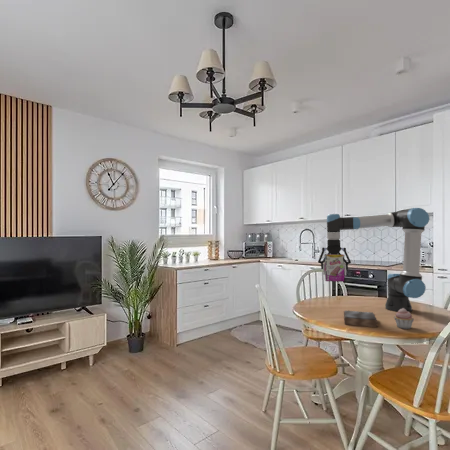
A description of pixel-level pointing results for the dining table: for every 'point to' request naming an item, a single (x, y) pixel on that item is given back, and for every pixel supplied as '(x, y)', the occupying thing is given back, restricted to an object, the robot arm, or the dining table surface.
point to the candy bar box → (334, 267)
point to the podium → (360, 318)
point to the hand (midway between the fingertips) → (334, 274)
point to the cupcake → (403, 319)
